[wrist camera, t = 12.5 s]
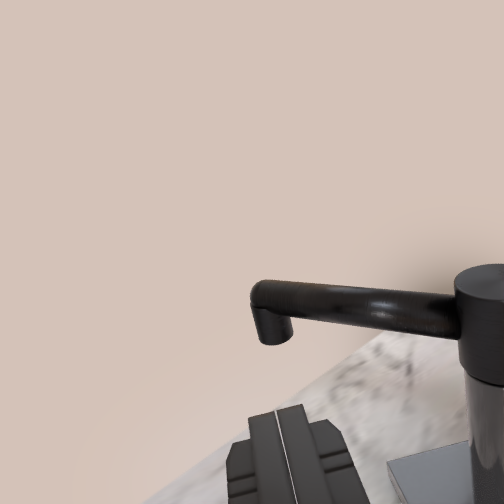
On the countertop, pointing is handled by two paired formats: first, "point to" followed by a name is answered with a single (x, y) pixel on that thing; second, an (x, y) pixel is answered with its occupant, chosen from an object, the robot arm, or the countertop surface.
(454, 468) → the faucet base
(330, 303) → the spout
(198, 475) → the countertop surface
